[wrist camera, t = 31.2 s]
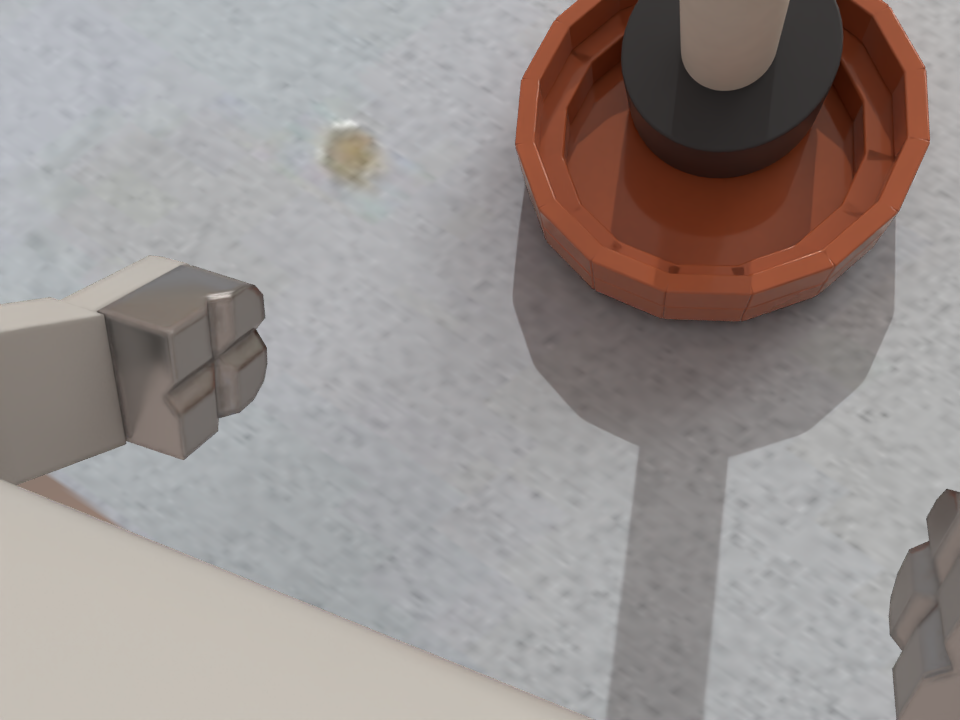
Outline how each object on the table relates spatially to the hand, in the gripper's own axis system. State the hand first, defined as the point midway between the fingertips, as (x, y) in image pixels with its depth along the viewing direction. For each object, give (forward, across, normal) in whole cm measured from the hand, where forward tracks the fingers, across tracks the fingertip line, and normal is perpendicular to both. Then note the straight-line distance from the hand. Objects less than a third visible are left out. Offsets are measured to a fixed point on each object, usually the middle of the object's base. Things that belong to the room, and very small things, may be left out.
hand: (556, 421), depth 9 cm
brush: (+20, 0, 0) cm, 20 cm away
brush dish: (+19, 0, +2) cm, 19 cm away
